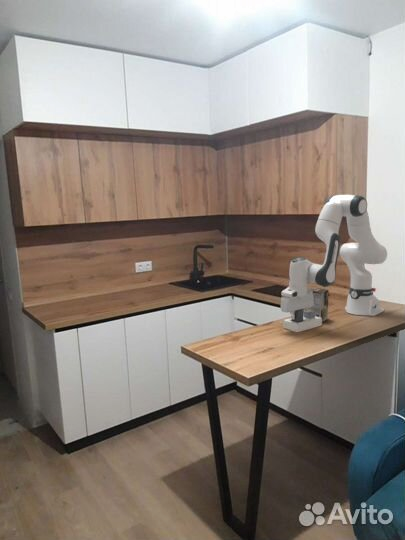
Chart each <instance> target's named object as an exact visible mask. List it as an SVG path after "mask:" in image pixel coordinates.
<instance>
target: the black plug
mask: <svg viewBox="0 0 405 540" xmlns="http://www.w3.org/2000/svg"><path fill="white" fill-rule="evenodd" d="M303 311H304V310H302V309H300V310H296V311H295V313H294V315H295V316H296V319H292V321H293V322H297V323H299V322H303Z"/></svg>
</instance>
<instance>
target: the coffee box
mask: <svg viewBox="0 0 405 540" xmlns="http://www.w3.org/2000/svg"><path fill="white" fill-rule="evenodd" d="M312 291H313V298H314V305H313V307H309V310H311V311H314V312H315V316H317V317H320V318H322V323H323V322H325V321H326V320H328V318H329V317H328V315H329V289H325V288H319V287H318V288H315V289H312Z"/></svg>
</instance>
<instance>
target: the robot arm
mask: <svg viewBox="0 0 405 540" xmlns="http://www.w3.org/2000/svg"><path fill="white" fill-rule="evenodd" d="M323 205H324V206H323V207H322V209H321V211H320V213H319V216H318V217H317V218H318V219H317V221H316V224H315V229H314V231H315V232H314V233H315V234H316V236H317V238H318V239H319V240H321V242H323V243H325V245H326V252H325V257H324V260H323V264H319V263H314V262H311V261H310V260H308V259H307V257H304V256H302V257H301V256H300V257H295V258H293V259H292V260H291V261H290V264H289V268H288V269H289V274H288V276H289V283H288V286H287V287H286V288H285V289H283V290H282V291H281V298H280V311H281V312H283V313H289V314H290V318H291V319H296V316H295V315H294V313H295V311H296V310H300V309H302V310H304V311H303V315H304V312H305V311H306V309H308V308H309V309H310V307H313V305H314V298H313V289H311V288H308V283H311V284H315V285H318V286H321V287H322V288H323V287H324V288H326V287H327V288H328V287H330V286H332V284H333V283H334V282H335V281H336V278H337V265H338V260H339V259H338V258H339V256H340V259H341V260H343V262H344V263H346V265H347V267H348V270H349V274H350V286H349V288H348V290H349V292H348V293H349V294H348V295H347V300H346V306H345V307H344V310H345V311H346V313H348V314H351V315H357V316H372V317H376V316H378V315H379V314H381V313H383V312H384V311H385V309H384V308H382V307H380V306H381V301H380V299H379V298H377V297H376V295H374V292H376V291H377V288H375V287H372V283H373V274H372V273H371V271H369V270H367V269H366V268H365V266H364V265H365V264H366V265H381V264H384V262H385V261H386V260H387V258H388V251H387V248H386V247H385V246H384V245H382V244H381V243H380V242H379V241H378V240H377V239H376V238H375V236H374V235H373V233H372V229H371V224H370V217H369V212H368V210H367V209H368V201H367V199H366V198H365V197H364V196H362V195H359V194H332V195H329V196H328V197H327V198H326V199H325V200H324V204H323ZM343 217H346V223H347V224H346V225H347V231H348V232H347V233H348V235H349V237H350V238H351V239H352V240H353V241H355V242H347V243H343V244H342V245H341V237H340V233H339V232H340V231H339V230H340V226H341V223H342V221H343V220H342V219H343Z"/></svg>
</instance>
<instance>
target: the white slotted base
mask: <svg viewBox="0 0 405 540" xmlns="http://www.w3.org/2000/svg"><path fill="white" fill-rule="evenodd" d="M322 323H323V322H322V318H320V317H317V316H315V312H314V311H311V310H310V309H308V310H305V312H304V315H303V322H299V323H297V322H293V321H292V319H291V317H290V318H286V319H283V325H282V328H283V329H285V330H289V331H292V332H294V333H299V332H304V331H306V330H310V329H313V328H314V329H315V328H317V327H321V326H322Z"/></svg>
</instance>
